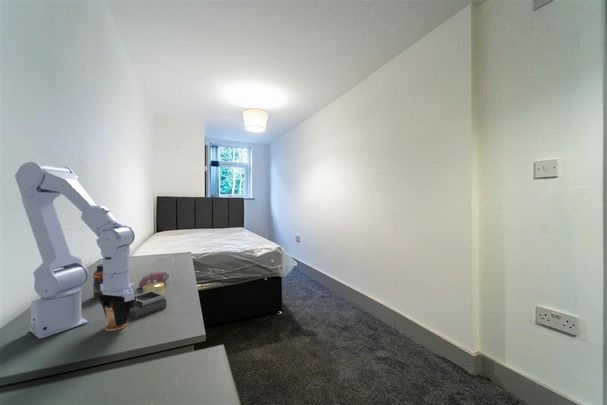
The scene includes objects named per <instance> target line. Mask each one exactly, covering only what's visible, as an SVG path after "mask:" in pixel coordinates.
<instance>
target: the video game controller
mask: <svg viewBox="0 0 607 405" xmlns="http://www.w3.org/2000/svg"><path fill="white" fill-rule="evenodd" d="M169 277H170V275H169V273H168V272H166V271H164V270H163V271H154V272H151V273H150V274H145V276H143V277H142V278H141V280H140V281H139V283H138V287H139V288H140V289H141V288H143V287H144V286H145V285H147V284H150V283H155V282H162V283H166V281H167V280H168V279H169ZM154 281H155V282H154Z"/></svg>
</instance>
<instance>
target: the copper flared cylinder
mask: <svg viewBox="0 0 607 405" xmlns="http://www.w3.org/2000/svg"><path fill="white" fill-rule="evenodd" d="M105 310H106V316H105V326H104V331H105V332H108V333H112V332H117V331H122V330H123V329H125V328H127V326H128V325H129V324H128V323H129V322H128V321H127V322H126V323H125V324H122V325H120V326H116V323H115V317H114V312H113V309H112V307H111V305H110V304H108V305H106V306H105Z"/></svg>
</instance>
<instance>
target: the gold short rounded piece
mask: <svg viewBox="0 0 607 405" xmlns="http://www.w3.org/2000/svg"><path fill="white" fill-rule="evenodd" d="M142 288H143V293H146V292H150V291H154V292H157V293H160V294H163V295H165V282H163V283H162V282H156V281H155V282H154V283H150V284H147V285H145V286H144V287H142ZM143 293H142V294H143Z"/></svg>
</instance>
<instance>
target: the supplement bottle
mask: <svg viewBox="0 0 607 405" xmlns="http://www.w3.org/2000/svg"><path fill="white" fill-rule="evenodd" d="M92 275H93V278H92V280H93V286H92V287H93V288H92V289H93V291H92V292H93V298H94V299H97V296H99V295H102V291H100V284H103V263H100V264H97V265H96V270H95V271H94V273H93V274H92ZM97 300H98V299H97Z"/></svg>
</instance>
